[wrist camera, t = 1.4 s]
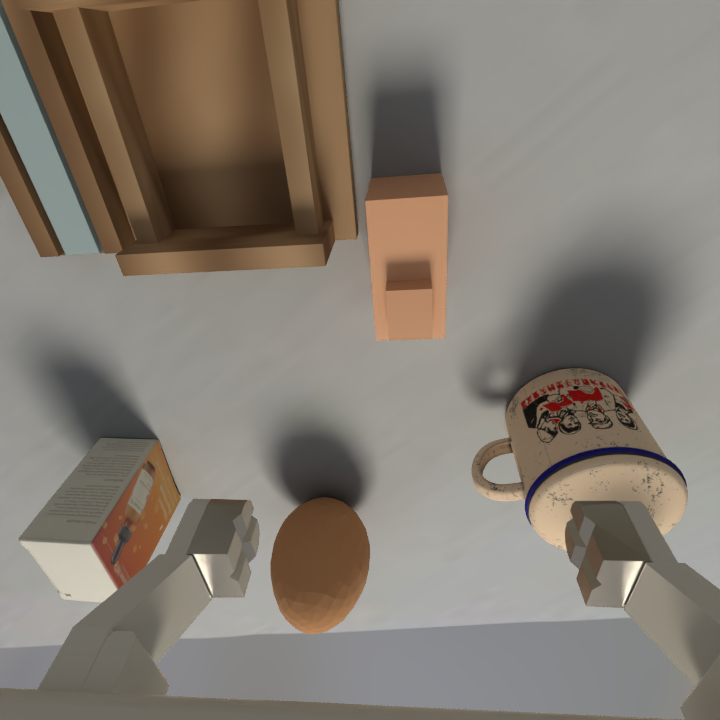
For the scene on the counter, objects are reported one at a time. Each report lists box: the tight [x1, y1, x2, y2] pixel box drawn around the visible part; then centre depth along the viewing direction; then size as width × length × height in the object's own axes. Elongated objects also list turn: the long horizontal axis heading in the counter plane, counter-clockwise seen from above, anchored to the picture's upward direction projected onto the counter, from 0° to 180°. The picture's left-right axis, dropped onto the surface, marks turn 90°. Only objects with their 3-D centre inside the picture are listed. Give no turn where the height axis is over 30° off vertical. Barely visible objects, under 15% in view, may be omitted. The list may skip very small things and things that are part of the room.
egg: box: [271, 497, 370, 634], centre depth 38 cm, size 8×8×11 cm
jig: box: [0, 0, 358, 276], centre depth 23 cm, size 20×13×5 cm, turn 95°
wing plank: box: [0, 1, 104, 255], centre depth 25 cm, size 2×12×2 cm, turn 5°
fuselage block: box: [365, 173, 448, 340], centre depth 26 cm, size 4×8×6 cm, turn 5°
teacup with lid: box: [472, 368, 688, 551], centre depth 30 cm, size 12×9×12 cm
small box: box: [19, 438, 181, 602], centre depth 38 cm, size 8×6×10 cm
